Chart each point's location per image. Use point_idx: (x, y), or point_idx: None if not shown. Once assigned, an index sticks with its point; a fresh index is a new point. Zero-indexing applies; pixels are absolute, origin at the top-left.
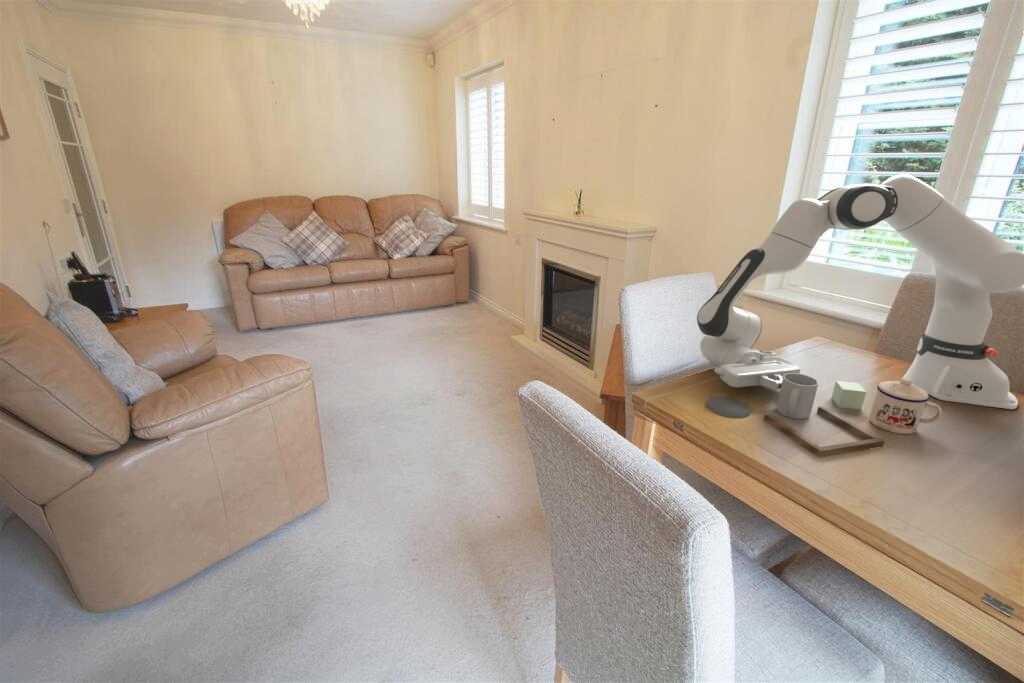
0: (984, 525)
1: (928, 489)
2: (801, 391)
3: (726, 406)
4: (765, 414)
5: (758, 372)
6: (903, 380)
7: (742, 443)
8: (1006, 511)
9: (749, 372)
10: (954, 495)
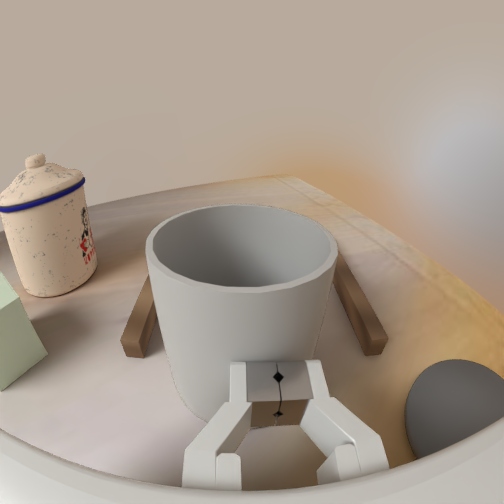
0: (231, 185)
1: (225, 202)
2: (283, 239)
3: (479, 410)
4: (386, 335)
5: (421, 472)
6: (42, 155)
7: (446, 283)
8: (187, 188)
9: (488, 451)
10: (207, 197)
